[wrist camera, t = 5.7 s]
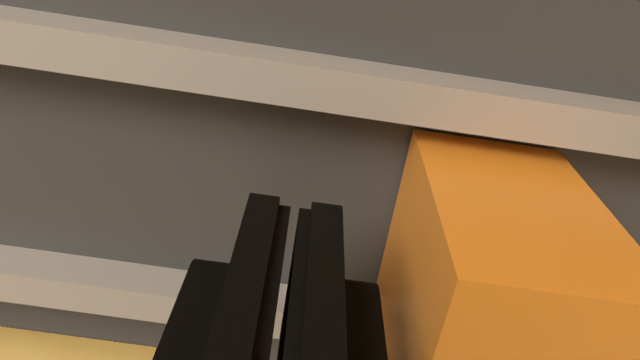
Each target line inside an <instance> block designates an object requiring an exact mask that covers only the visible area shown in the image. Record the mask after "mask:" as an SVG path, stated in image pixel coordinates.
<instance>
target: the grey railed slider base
mask: <svg viewBox="0 0 640 360" xmlns="http://www.w3.org/2000/svg"><path fill="white" fill-rule="evenodd" d="M413 129H418V130H425V131H432V132H438V133H445V134H452V135H458V136H465V137H472V138H479V139H485V140H492V141H499V142H505V143H512V144H519V145H526V146H532V147H539V148H546V149H553V150H559V151H560V153H561V154H562V155H563V156H564V157H565V158H566V160H567V161H568V162H569V163H570V164H571V166H572V167H573V168H574V169H575V170H576V171H577V173H578V174H579V175H580V176H581V177H582V179H583V180H584V181H585V182H586V183H587V185H588V186H589V187H590V188H591V189H592V190H593V192H594V193H595V194H596V195H597V196H598V198H599V199H600V200H601V201H602V202H603V203H604V205H605V206H606V207H607V208H608V209H609V211H610V212H611V213H612V214H613V215H614V217H615V218H616V219H617V220H618V221H619V222H620V224H621V225H622V226H623V227H624V228H625V230H626V231H627V232H628V233H629V234H630V235H631V237H632V238H633V239H634V240H635V241H636V243H637V244H638V245H639V246H640V0H0V326H3V327H10V328H18V329H25V330H33V331H40V332H47V333H55V334H62V335H70V336H77V337H85V338H92V339H100V340H107V341H115V342H122V343H129V344H137V345H144V346H152V347H158V344H159V342H160V339H161V337H162V334H163V332H164V329H165V327H166V324H167V322H168V319H169V317H170V314H171V311H172V309H173V306H174V304H175V301H176V299H177V296H178V294H179V291H180V289H181V286H182V284H183V281H184V279H185V276H186V273H187V271H188V268H189V266H190V264H191V262H192V260H193V259H202V260H209V261H217V262H224V263H230V260H231V256H232V253H233V249H234V246H235V242H236V239H237V235H238V232H239V229H240V225H241V222H242V218H243V215H244V211H245V208H246V204H247V201H248V197H249V194H250V193H257V194H264V195H271V196H278V197H280V204H279V205H284V206H291V210H290V217H289V224H288V231H287V238H286V245H285V253H284V260H283V267H282V274H281V281H280V288H279V296H278V303H277V310H276V317H275V324H274V331H273V338H272V346H271V353H270V360H277V354H278V346H279V338H280V331H281V324H282V318H283V311H284V305H285V298H286V292H287V285H288V279H289V272H290V266H291V259H292V252H293V246H294V239H295V233H296V226H297V220H298V214H299V208H305V209H311V205H312V202H320V203H327V204H334V205H341V206H343V230H344V261H345V279H349V280H356V281H363V282H371V283H377V279H378V275H379V271H380V267H381V262H382V258H383V254H384V250H385V246H386V241H387V237H388V233H389V229H390V225H391V220H392V216H393V212H394V208H395V204H396V200H397V195H398V191H399V187H400V183H401V179H402V174H403V170H404V166H405V162H406V158H407V153H408V149H409V145H410V141H411V137H412V133H413Z"/></svg>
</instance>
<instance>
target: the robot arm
mask: <svg viewBox="0 0 640 360" xmlns="http://www.w3.org/2000/svg"><path fill="white" fill-rule="evenodd" d="M279 204H280V197H278V196H271V195H264V194H257V193H250V194H249V197H248V201H247V204H246V208H245V211H244V215H243V218H242V222H241V225H240V229H239V232H238V235H237V239H236V242H235V246H234V249H233V253H232V256H231V260H230V263H224V262H217V261H209V260H202V259H193V260H192V262H191V264H190V266H189V268H188V271H187V273H186V276H185V279H184V281H183V284H182V286H181V289H180V291H179V294H178V296H177V299H176V301H175V304H174V306H173V309H172V311H171V314H170V317H169V319H168V322H167V324H166V327H165V329H164V332H163V334H162V337H161V339H160V342H159V344H158V347H157V349H156V352H155V354H154V357H153V360H270V353H271V346H272V338H273V331H274V324H275V317H276V310H277V303H278V296H279V288H280V281H281V274H282V267H283V260H284V253H285V245H286V238H287V231H288V224H289V217H290V210H291V206H284V205H279ZM277 360H388V356H387V348H386V339H385V331H384V322H383V314H382V306H381V297H380V290H379V286H378V284H377V283H371V282H363V281H356V280H349V279H345V261H344V230H343V206H341V205H334V204H327V203H320V202H312V205H311V209H305V208H299V214H298V220H297V226H296V233H295V239H294V246H293V252H292V259H291V266H290V272H289V279H288V285H287V292H286V298H285V305H284V311H283V318H282V324H281V331H280V338H279V346H278V354H277Z"/></svg>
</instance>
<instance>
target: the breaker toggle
mask: <svg viewBox="0 0 640 360" xmlns="http://www.w3.org/2000/svg"><path fill="white" fill-rule="evenodd" d="M377 284H378V286H379V290H380V297H381V306H382V314H383V322H384V331H385V339H386V348H387V356H388V360H640V246H639V245H638V244H637V243H636V241H635V240H634V239H633V238H632V237H631V235H630V234H629V233H628V232H627V231H626V230H625V228H624V227H623V226H622V225H621V224H620V222H619V221H618V220H617V219H616V218H615V217H614V215H613V214H612V213H611V212H610V211H609V209H608V208H607V207H606V206H605V205H604V203H603V202H602V201H601V200H600V199H599V198H598V196H597V195H596V194H595V193H594V192H593V190H592V189H591V188H590V187H589V186H588V185H587V183H586V182H585V181H584V180H583V179H582V177H581V176H580V175H579V174H578V173H577V171H576V170H575V169H574V168H573V167H572V166H571V164H570V163H569V162H568V161H567V160H566V158H565V157H564V156H563V155H562V154H561V153H560V151H559V150H553V149H546V148H539V147H532V146H526V145H519V144H512V143H505V142H499V141H492V140H485V139H479V138H472V137H465V136H458V135H452V134H445V133H438V132H432V131H425V130H418V129H413V133H412V137H411V141H410V145H409V149H408V153H407V158H406V162H405V166H404V170H403V174H402V179H401V183H400V187H399V191H398V195H397V200H396V204H395V208H394V212H393V216H392V220H391V225H390V229H389V233H388V237H387V241H386V246H385V250H384V254H383V258H382V262H381V267H380V271H379V275H378V279H377Z"/></svg>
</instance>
